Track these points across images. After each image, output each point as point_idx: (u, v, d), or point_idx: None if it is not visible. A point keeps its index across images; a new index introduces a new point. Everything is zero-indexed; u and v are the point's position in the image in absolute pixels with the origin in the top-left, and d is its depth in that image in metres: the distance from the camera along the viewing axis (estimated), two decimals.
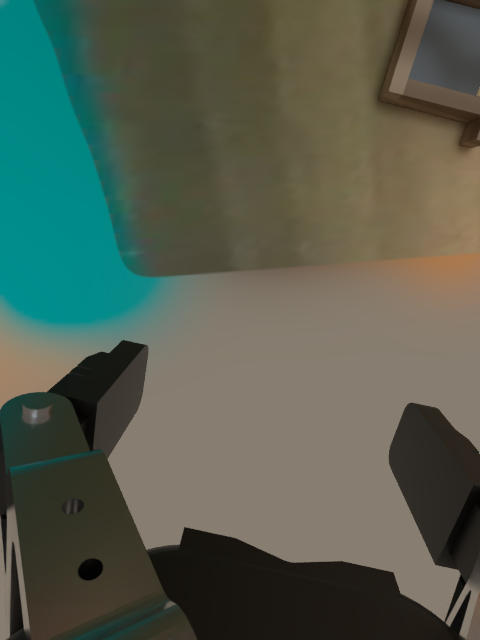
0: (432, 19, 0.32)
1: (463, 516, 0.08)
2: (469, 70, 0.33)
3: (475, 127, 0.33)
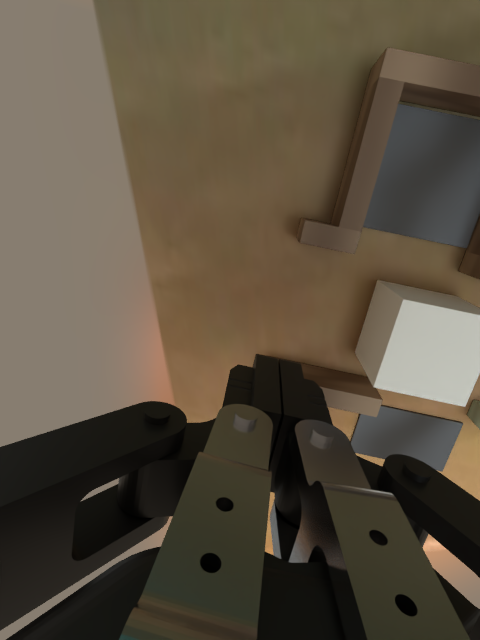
0: None
1: (280, 444, 0.09)
2: (402, 211, 0.22)
3: (323, 223, 0.21)
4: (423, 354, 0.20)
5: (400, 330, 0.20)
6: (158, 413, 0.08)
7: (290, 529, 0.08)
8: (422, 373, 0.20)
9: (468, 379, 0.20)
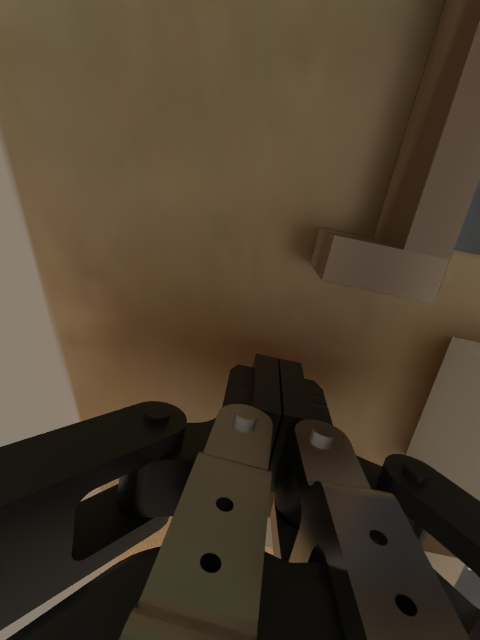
0: None
1: (280, 444, 0.09)
2: None
3: (366, 240, 0.11)
4: None
5: None
6: (157, 412, 0.08)
7: (290, 529, 0.08)
8: None
9: None
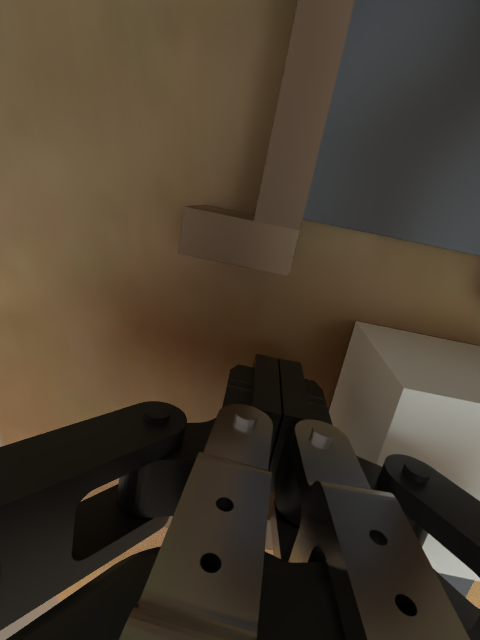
0: None
1: (280, 444, 0.09)
2: (386, 192, 0.12)
3: (230, 214, 0.11)
4: None
5: (397, 449, 0.09)
6: (157, 413, 0.08)
7: (290, 529, 0.08)
8: None
9: None
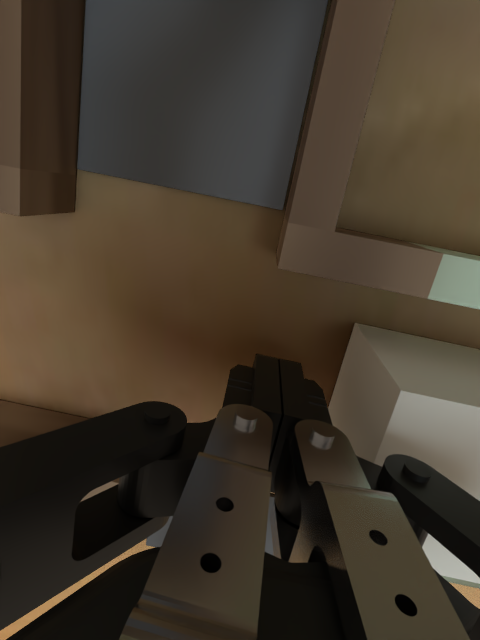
0: None
1: (280, 444, 0.09)
2: (157, 142, 0.12)
3: None
4: None
5: (394, 451, 0.09)
6: (158, 412, 0.08)
7: (290, 529, 0.08)
8: None
9: None
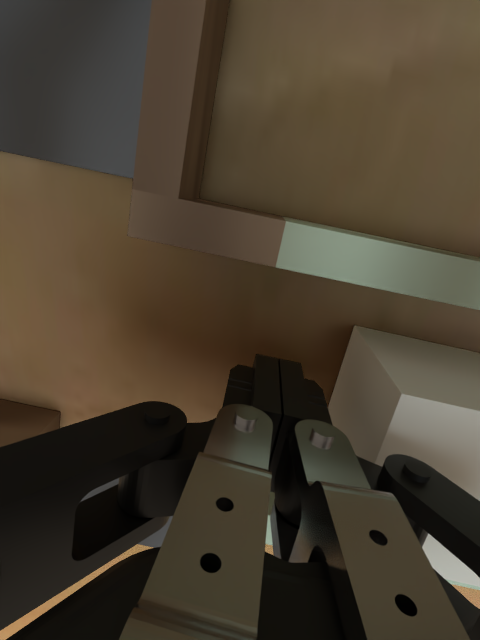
0: None
1: (280, 444, 0.09)
2: (31, 114, 0.12)
3: None
4: None
5: None
6: (158, 413, 0.08)
7: (290, 529, 0.08)
8: None
9: None
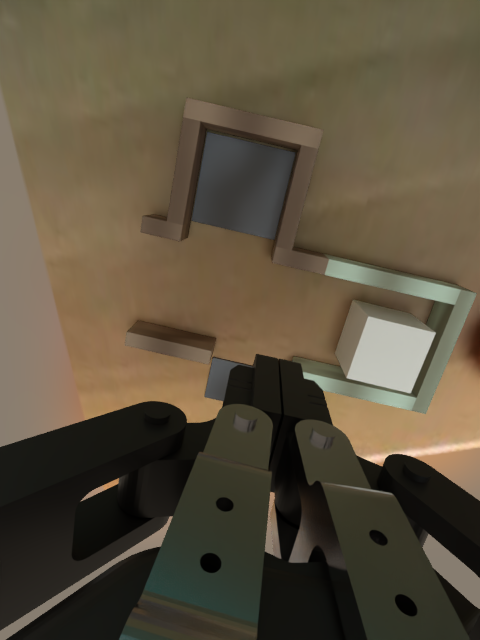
0: (274, 160, 0.29)
1: (280, 444, 0.09)
2: (225, 211, 0.30)
3: (160, 218, 0.29)
4: (381, 355, 0.28)
5: (365, 338, 0.28)
6: (157, 413, 0.08)
7: (290, 529, 0.08)
8: (380, 369, 0.28)
9: (412, 373, 0.28)
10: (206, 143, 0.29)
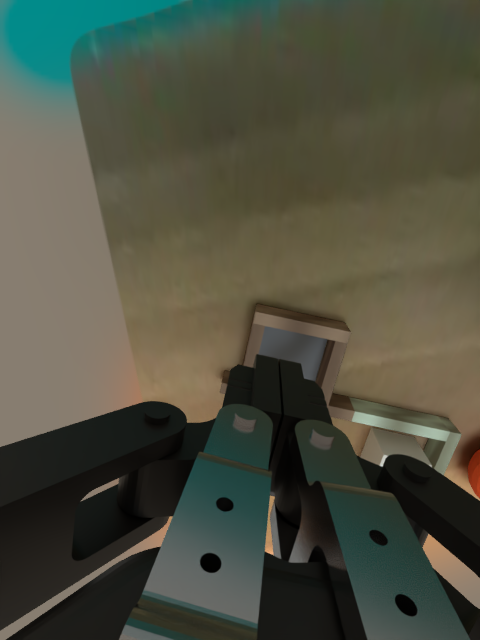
0: (313, 337, 0.40)
1: (280, 444, 0.09)
2: None
3: None
4: None
5: None
6: (158, 413, 0.08)
7: (290, 529, 0.08)
8: None
9: None
10: (265, 326, 0.40)
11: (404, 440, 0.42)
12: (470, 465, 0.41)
